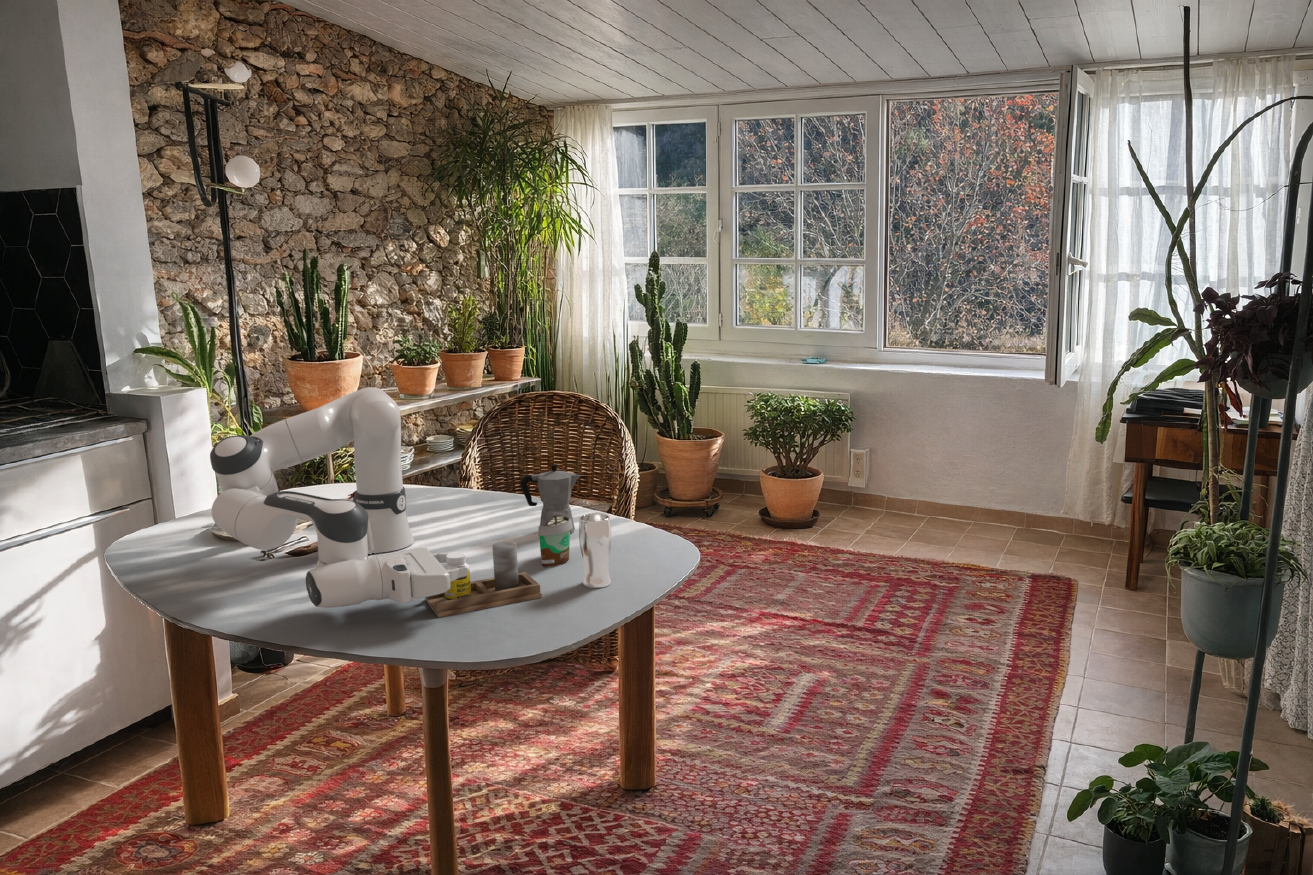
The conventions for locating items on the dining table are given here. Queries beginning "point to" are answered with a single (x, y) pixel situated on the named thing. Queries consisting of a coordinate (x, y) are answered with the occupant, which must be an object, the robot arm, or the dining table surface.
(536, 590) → the wooden compartment tray
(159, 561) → the dining table surface
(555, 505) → the coffeepot
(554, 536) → the food container
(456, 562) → the supplement bottle
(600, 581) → the beer glass
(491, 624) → the dining table surface
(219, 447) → the robot arm
